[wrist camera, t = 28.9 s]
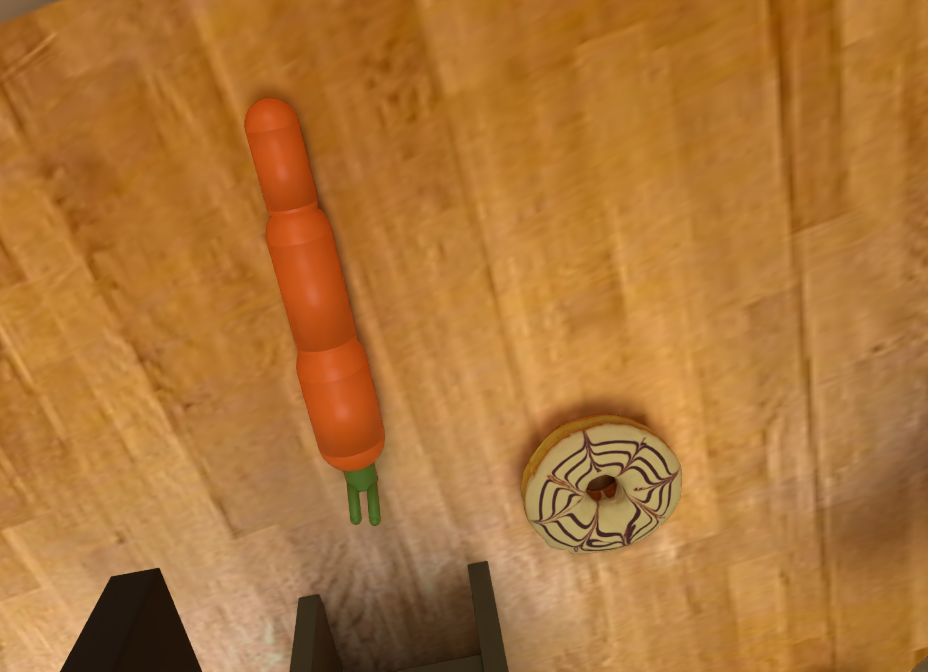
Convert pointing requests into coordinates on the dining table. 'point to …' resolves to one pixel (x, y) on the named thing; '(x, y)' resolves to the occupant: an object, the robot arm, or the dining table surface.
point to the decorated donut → (607, 510)
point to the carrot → (317, 305)
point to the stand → (321, 668)
